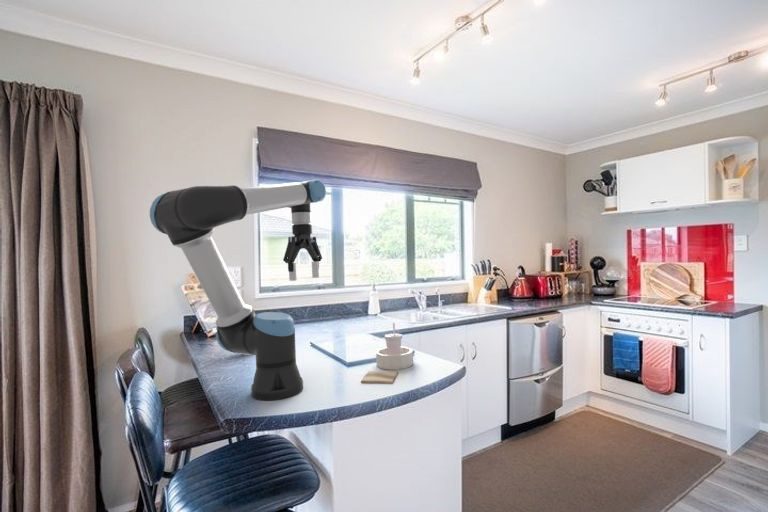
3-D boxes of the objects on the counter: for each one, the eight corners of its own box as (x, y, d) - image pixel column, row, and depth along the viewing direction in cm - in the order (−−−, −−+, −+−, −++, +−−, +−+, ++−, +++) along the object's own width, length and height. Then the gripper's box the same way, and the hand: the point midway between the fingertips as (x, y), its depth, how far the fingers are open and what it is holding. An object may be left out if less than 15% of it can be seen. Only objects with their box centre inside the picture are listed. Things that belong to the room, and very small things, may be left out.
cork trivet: (392, 383, 117) (392, 381, 117) (361, 382, 119) (360, 380, 119) (398, 373, 127) (398, 371, 127) (369, 372, 129) (369, 370, 129)
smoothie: (397, 365, 133) (394, 325, 133) (382, 363, 137) (380, 324, 137) (406, 360, 138) (404, 322, 138) (392, 358, 142) (390, 321, 142)
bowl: (403, 371, 128) (403, 357, 128) (370, 367, 134) (369, 354, 134) (418, 360, 140) (417, 347, 140) (386, 358, 146) (386, 345, 146)
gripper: (314, 226, 160) (316, 276, 160) (271, 223, 138) (274, 282, 138) (328, 224, 157) (331, 276, 157) (287, 221, 135) (290, 281, 135)
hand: (304, 279), depth 147 cm, fingers open, 13 cm apart
